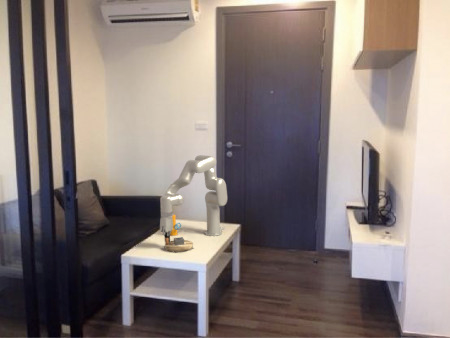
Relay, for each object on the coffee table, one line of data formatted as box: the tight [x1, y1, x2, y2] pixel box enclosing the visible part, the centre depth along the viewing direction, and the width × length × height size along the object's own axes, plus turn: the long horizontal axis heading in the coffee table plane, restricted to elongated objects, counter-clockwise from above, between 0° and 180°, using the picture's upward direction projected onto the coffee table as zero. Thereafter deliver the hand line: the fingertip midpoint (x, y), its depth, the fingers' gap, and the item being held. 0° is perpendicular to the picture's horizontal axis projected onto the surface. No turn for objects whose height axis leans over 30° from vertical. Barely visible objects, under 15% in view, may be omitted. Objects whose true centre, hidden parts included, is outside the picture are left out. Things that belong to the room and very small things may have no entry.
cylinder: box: [169, 213, 182, 237], centre depth 314 cm, size 12×10×15 cm
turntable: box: [164, 237, 194, 253], centre depth 282 cm, size 18×18×6 cm
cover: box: [173, 236, 185, 246], centre depth 282 cm, size 6×6×4 cm
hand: (167, 241), depth 285 cm, fingers closed
